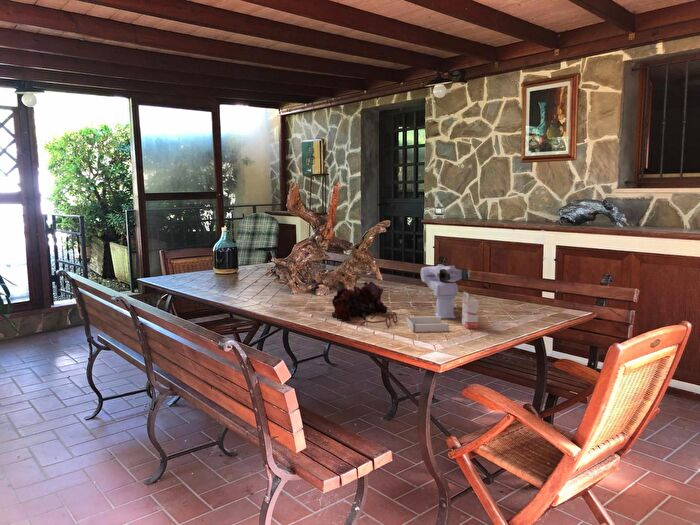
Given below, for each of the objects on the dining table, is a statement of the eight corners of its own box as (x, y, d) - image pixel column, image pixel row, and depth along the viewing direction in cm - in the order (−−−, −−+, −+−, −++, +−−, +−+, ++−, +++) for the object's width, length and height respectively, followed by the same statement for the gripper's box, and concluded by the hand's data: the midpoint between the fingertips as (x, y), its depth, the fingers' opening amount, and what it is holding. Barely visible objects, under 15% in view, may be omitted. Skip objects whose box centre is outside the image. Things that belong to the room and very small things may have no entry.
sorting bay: (406, 323, 236) (406, 316, 236) (440, 322, 238) (440, 315, 237) (412, 332, 223) (413, 323, 222) (448, 331, 224) (449, 323, 223)
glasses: (387, 329, 230) (387, 317, 229) (359, 326, 235) (359, 314, 234) (397, 322, 242) (397, 311, 241) (370, 319, 247) (370, 308, 246)
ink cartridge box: (478, 328, 228) (479, 294, 226) (467, 328, 227) (467, 294, 225) (472, 323, 236) (473, 290, 234) (461, 324, 236) (462, 290, 234)
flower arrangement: (353, 323, 238) (353, 290, 236) (320, 317, 250) (319, 285, 248) (394, 311, 262) (394, 280, 260) (362, 306, 274) (362, 276, 272)
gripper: (433, 265, 240) (441, 267, 226) (465, 264, 241) (475, 266, 228) (433, 281, 240) (441, 284, 227) (465, 280, 242) (475, 283, 228)
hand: (458, 276), depth 227 cm, fingers open, 7 cm apart
